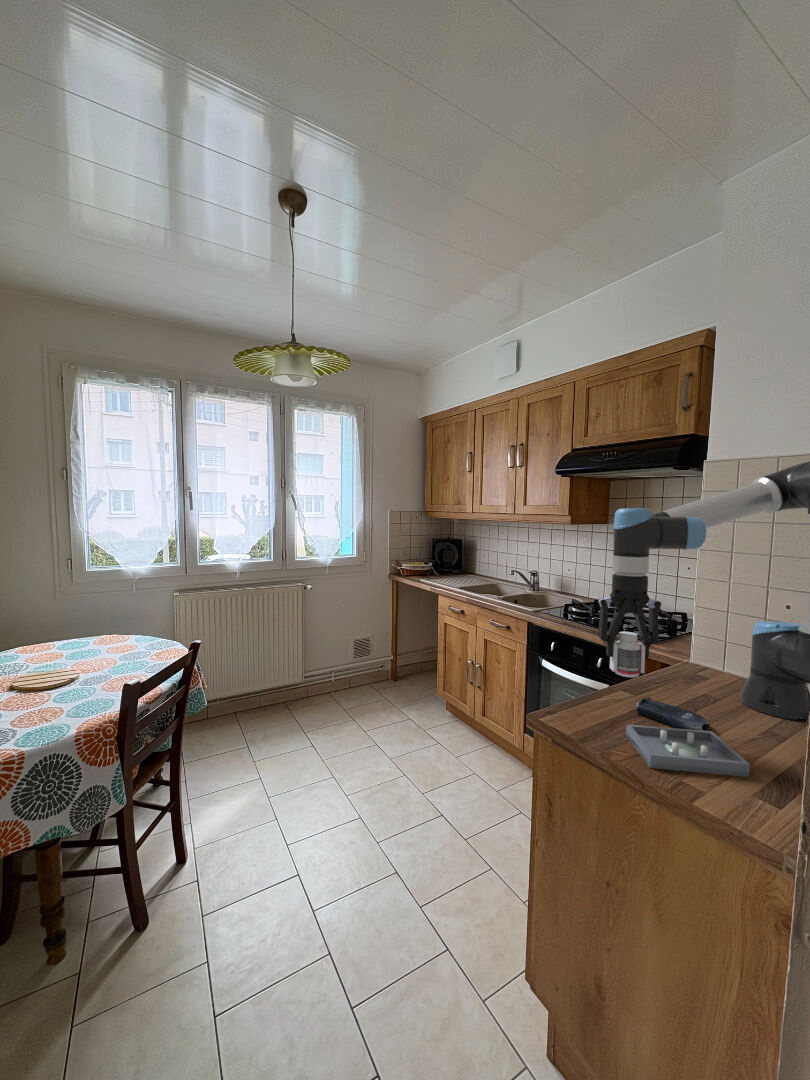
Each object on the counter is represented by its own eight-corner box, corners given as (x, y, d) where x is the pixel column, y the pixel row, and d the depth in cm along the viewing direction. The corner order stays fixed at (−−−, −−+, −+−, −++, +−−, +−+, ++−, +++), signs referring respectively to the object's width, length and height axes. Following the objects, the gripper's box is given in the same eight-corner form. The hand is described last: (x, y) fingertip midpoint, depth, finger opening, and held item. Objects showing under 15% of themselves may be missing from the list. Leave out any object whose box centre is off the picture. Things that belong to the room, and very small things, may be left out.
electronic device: (633, 722, 110) (702, 738, 99) (632, 699, 111) (701, 712, 100) (648, 717, 116) (715, 731, 105) (647, 695, 117) (714, 707, 106)
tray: (711, 742, 98) (712, 727, 97) (748, 777, 85) (750, 759, 84) (626, 735, 100) (626, 720, 100) (649, 767, 87) (650, 750, 87)
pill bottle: (644, 677, 102) (646, 635, 102) (625, 678, 101) (626, 637, 101) (628, 669, 108) (629, 630, 107) (609, 670, 107) (610, 631, 106)
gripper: (664, 572, 106) (660, 667, 107) (584, 570, 108) (582, 663, 109) (679, 576, 98) (675, 678, 100) (593, 575, 101) (590, 674, 102)
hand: (626, 670), depth 104 cm, fingers closed on pill bottle, 5 cm apart
